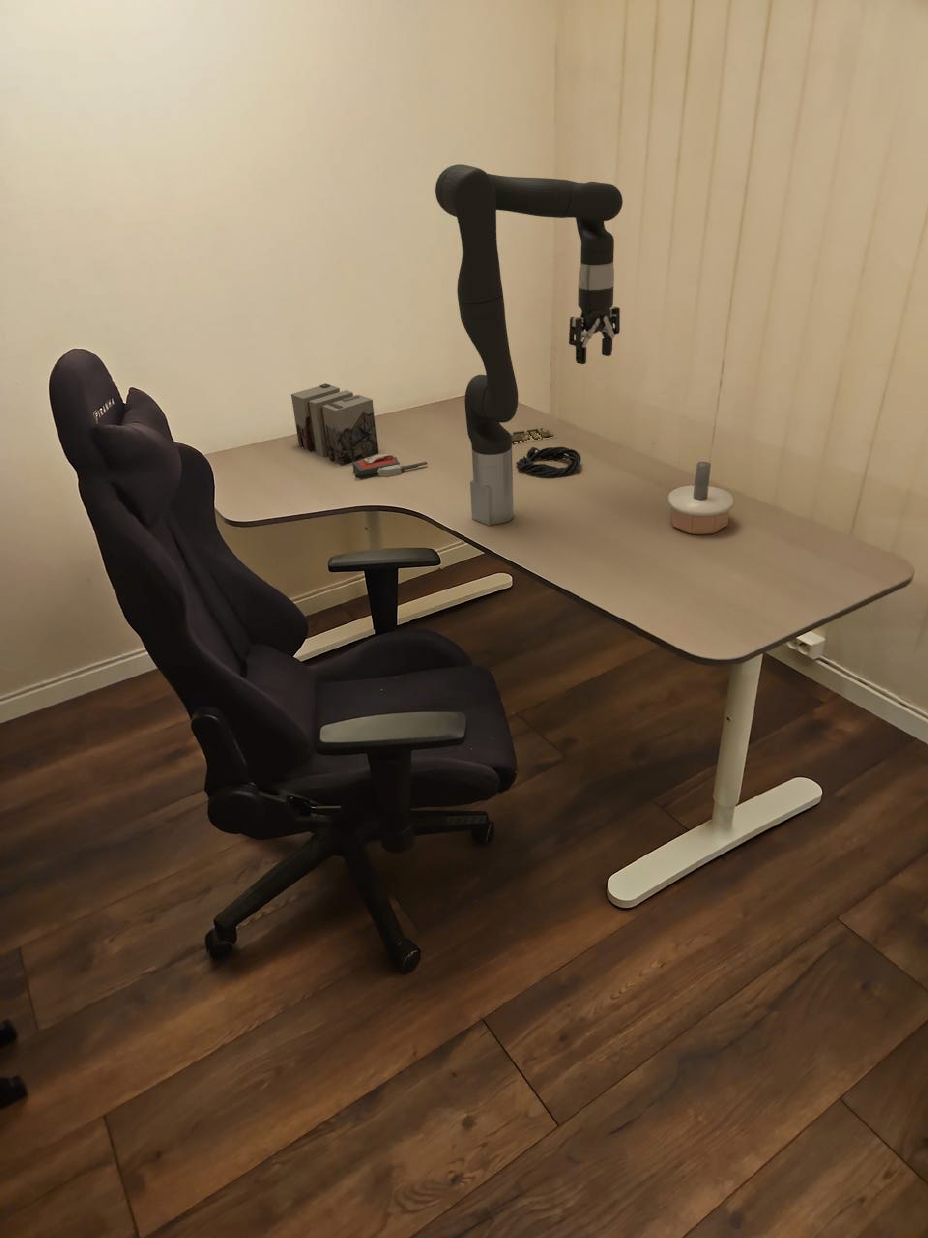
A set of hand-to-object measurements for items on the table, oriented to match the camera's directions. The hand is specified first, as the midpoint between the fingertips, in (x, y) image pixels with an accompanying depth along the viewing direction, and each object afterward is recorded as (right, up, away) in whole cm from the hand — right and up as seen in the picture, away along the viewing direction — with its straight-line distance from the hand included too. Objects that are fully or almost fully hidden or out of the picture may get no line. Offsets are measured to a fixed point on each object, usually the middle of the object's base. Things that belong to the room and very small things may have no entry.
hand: (594, 359), depth 200 cm
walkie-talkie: (-50, -19, +37) cm, 65 cm away
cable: (-7, -20, +33) cm, 39 cm away
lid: (+24, -33, -2) cm, 40 cm away
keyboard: (-14, -8, +53) cm, 55 cm away
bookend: (-66, -11, +52) cm, 85 cm away
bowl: (+24, -37, +1) cm, 44 cm away
